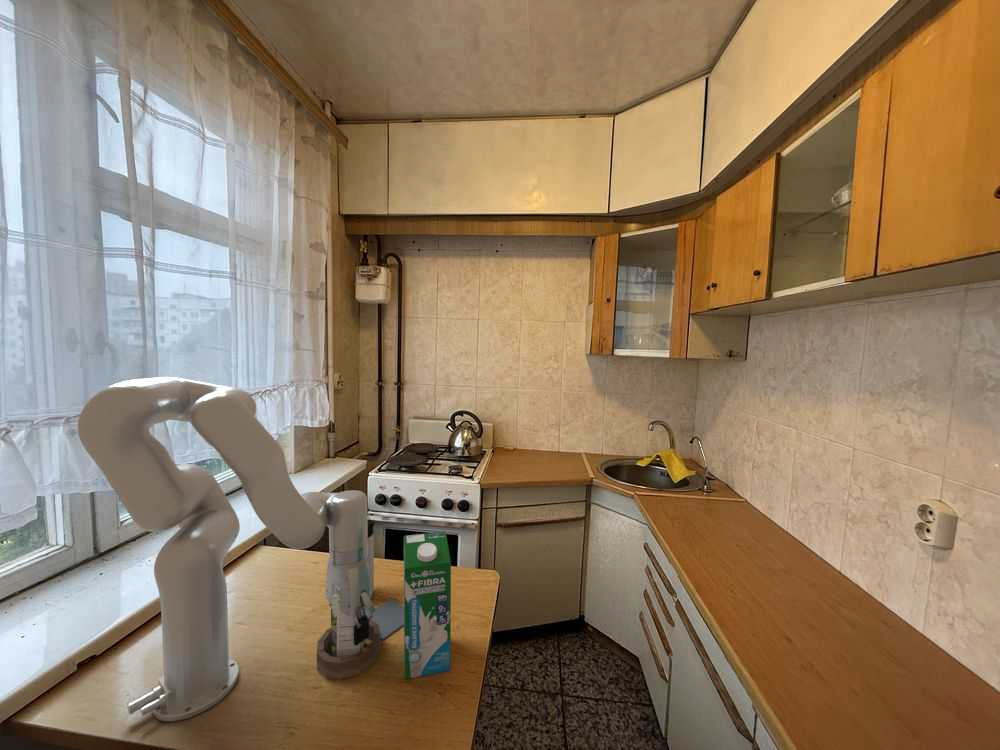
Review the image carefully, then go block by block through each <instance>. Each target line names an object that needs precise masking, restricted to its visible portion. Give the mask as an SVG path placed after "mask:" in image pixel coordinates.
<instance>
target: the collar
mask: <svg viewBox="0 0 1000 750" xmlns="http://www.w3.org/2000/svg"><path fill="white" fill-rule="evenodd" d="M367 639H369V641H371V642H370V643H369V645H367V646H364V648H363V649H362V650H361V651H360V652H359V653H358V654H354V655H351V656H347V657H344V658H341V657H332V655H330V654H329V653H328V652H329V650H330V649H332V626H331V627H329V628H327V629H326V630H325V631H324V633H323V634H322V635H321V636H320V638H319V639H318V640H317V642H316V643H317V644H316V670H317V671H318V672H319V673H320V674H321V675H322V676H323V677H324V678H325V679H330V680H339V681H340V680H341V681H342V680H346V679H349V678H353V677H356V676H359V675H361V674H362V673H364V672H365V671H366V670H367V669H369V668H370V667H371V666H372V665H374V664H375V662H376V660H377V659H378V657H379V654H380V653H381V651H382V640H381V634H380V628H379V625H378V624H377V623H376V622H374V621H373V620H371V619H370V620H369V637H368V638H367Z"/></svg>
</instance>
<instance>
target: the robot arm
mask: <svg viewBox="0 0 1000 750" xmlns="http://www.w3.org/2000/svg"><path fill="white" fill-rule="evenodd" d="M256 413H257V404H256V401H255V399H254V398H253V397H252V395H251V394H250V393H248V392H246V391H245V390H242V389H239V388H236V387H231V386H224V385H219V384H213V383H208V382H202V381H197V380H192V379H186V378H179V377H174V376H156V377H148V378H135V379H129V380H122V381H120V382H116V383H114V384H111V385H109V386H107V387H105V388H103V389H101V390H100V391H99V392H97V393H96V394H94V395H93V396H92V397H91V398H90V399H89V400H88V401H87V402H86V404H85V405H84V406H83V408H82V410H81V412H80V414H79V416H78V420H77V434H78V438H79V441H80V443H81V445H82V446H83V448H84V450H85V451H86V453H87V454H88V455H89V457H90V458H91V459H92V461H93V462H94V463H95V464H96V465H97V467H98V468H99V469H100V471H101V472H102V473H103V475H104V477H105V478H106V480H107V482H108V483H109V486H110V487H111V488H112V490H113V492H114V493H115V494H116V496H117V498H118V499H119V501H120V502H121V504H122V506H124V509H126V512H127V514H129V516H130V518H131V520H133V522H134V523H135V524H136V525H137V526H138V527H139V528H140V529H142V530H143V531H147V532H150V533H151V532H152V533H159V532H164V531H168V530H170V529H172V528H174V527H175V526H178V527H179V529H178V530H177V531H176V532H175V533H174V534H173V535H172V536H171V537H170V538H169V539H168V540H167V541H166V542H165V543H164V544H163V546H162V547H161V549H160V550H159V552H158V553H157V556H156V558H155V560H154V566H153V573H154V574H153V575H154V580H155V583H156V588H157V590H158V594H159V600H160V602H159V603H160V614H161V616H160V617H161V633H162V635H161V637H162V663H163V668H162V669H163V675H161V676H160V677H158V684H157V685H154V686H153V687H152V688H151V691H149V692H146V693H145V694H143V695H139V696H138V697H136V698H134V699H133V700H130V701H128V702H127V712H128V716H130V715H133V714H134V713H136V712H138V711H140V713H141V717H145V716H146V715H147V714H149V713H151V712H153V714H154V716H155V718H157V719H158V720H160V721H163V722H177V721H183V720H185V719H189V718H193V717H194V716H197V715H199V714H201V713H203V712H206V710H209V709H210V708H212V707H213V706H215V705H216V704H218V703H219V702H220V701H222V699H224V698H225V697H226V696H227V695H228V694H229V693H230V691H232V690H233V688H234V686H235V685H236V684H237V681H238V679H239V675H240V667H239V664H238V662H236V661H235V660H233V659H232V658H230V656H229V655H230V654H229V652H230V651H229V650H230V649H229V648H230V647H229V617H228V616H229V615H228V612H229V609H228V608H229V607H228V588H227V587H228V586H227V582H226V577H225V573H224V568H223V562H224V558H225V557H226V555H227V554H228V552H229V550H230V549H231V547H232V546H233V545H234V543H235V542H236V541H237V540H236V539H238V536H239V533H240V528H241V525H240V524H241V523H240V519H239V518H238V515H237V513H236V511H235V509H234V507H233V505H232V504H231V503H230V501H229V499H228V497H227V496H226V494H225V492H224V491H223V489H222V487H221V486H220V484H219V483H218V481H217V479H216V478H215V476H214V475H213V474H212V473H211V472H210V471H209V470H208V469H206V468H204V467H202V466H200V465H198V464H193V463H181V464H176V463H175V462H174V461H173V458H172V457H171V455H170V453H169V452H168V450H167V448H166V447H165V446H164V445H163V444H162V443H161V442H160V441H159V440H158V439H157V438H156V437H155V436H153V435H152V434H151V432H150V428H151V427H152V426H154V425H156V424H157V425H158V424H160V423H163V422H166V421H169V420H170V421H177V422H178V421H179V422H186V423H190V424H191V426H192V428H193V429H194V430H195V431H196V432H197V433H198V434H199V436H200V437H202V439H203V440H204V441H205V442H206V443H207V444H208V445H209V446H210V448H212V449H213V450H214V452H215V453H216V454H217V455H218V456H219V457H220V458H221V459H222V460H223V461H224V463H225V464H226V465H227V466H228V467H229V469H231V471H232V472H233V473H234V474H235V475H236V476H237V477H238V479H239V480H240V483H241V485H242V487H241V488H242V489H243V492H244V493H245V495H246V497H247V499H248V501H249V503H250V505H251V507H252V509H253V511H254V513H255V514H256V515H257V517H258V518H259V520H260V522H262V524H263V525H264V526H265V527H266V528H267V530H269V531H270V532H271V534H272V535H273V536H275V538H277V540H278V541H279V542H281V543H282V544H284V545H285V547H286V546H287V547H288V548H291V549H294V550H304V549H308V548H310V547H312V546H313V545H315V544H316V543H318V542H319V541H320V540H321V538H322V537H323V535H324V532H325V531H326V527H327V528H328V540H329V541H328V546H329V547H328V548H329V552H328V553H329V557H328V560H327V567H326V574H325V575H326V578H325V598H326V601H327V602H328V603H329V607H330V626H331V627H332V599H333V597H334V595H335V594H336V595H338V596H339V597H340V598H339V599H340V611H341V612H342V613H344V614H345V615H347V616H353V617H354V621H355V624H356V625H355V626H354V644H355V645H358V644H359V643H361V642H362V641H364V640H365V641H366V639H368V637H369V620H370V619H371V618H372V617H373V615H374V613H375V612H376V610H375V608H376V607H375V605H374V604H373V602H372V600H371V599H372V597H371V585H370V573H369V565H368V560H367V557H368V518H369V517H368V497H367V494H366V493H365V492H363V491H361V490H357V489H356V490H354V489H353V490H344V491H340V492H327V491H326V492H324V491H309V492H304V493H302V494H300V492H299V491H298V490H297V488H296V486H295V485H294V484H293V481H292V480H291V476H290V475H289V472H288V469H287V463H286V456H285V452H284V450H283V448H282V446H281V445H280V443H278V442H277V440H276V439H275V438H274V437H273V436H272V435H271V433H270V432H269V431H268V430H267V429H266V427H264V425H263V424H262V422H260V421H259V420H258V419H257V417H256V416H255V415H256ZM360 602H361V603H362V606H361V607H360V608H359V605H360ZM361 610H363V613H364V616H362V617H361V618H359V615H358V612H359V611H361Z"/></svg>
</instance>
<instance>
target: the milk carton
mask: <svg viewBox="0 0 1000 750" xmlns="http://www.w3.org/2000/svg"><path fill="white" fill-rule="evenodd" d="M451 568H452V560H451V556H450V549H449V543H448V538H447V533H446V531H445V530H444V531H435V532H429V533H421V534H417V533H416V534H411V535H410V534H409V535H403V606H404V626H403V656H404V657H403V661H404V662H403V663H404V680H409V679H410V680H411V679H414V678H418V677H422V676H423V677H424V676H427V675H432V674H437V673H441V672H446V671H450V670H451V641H452V638H451V633H452V632H451V631H452V629H451V625H452V623H451V616H452V615H451V612H452V611H451V610H452V609H451V608H452V606H451V605H452V604H451V603H452V602H451V600H452V591H451V590H452V569H451Z"/></svg>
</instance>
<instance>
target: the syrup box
mask: <svg viewBox="0 0 1000 750" xmlns="http://www.w3.org/2000/svg"><path fill="white" fill-rule="evenodd" d="M339 598H340V597H339V596H338V595H336V594H335V595H334V597H333V599H332V608H331V609H332V626H331V627H332V647H331V657H341V658H344V657H347V656H351V655H354V654H358V653H359V652H360V651H361V650H362V649H363V648H365V644H366V639H365V640H364V641H362V642H361V643H359V644H358V645H355V644H354V626H355V625H356V624H355V621H354V617H353V616H347V615H345V614H344V613H342V612H341V611H340V599H339ZM361 606H362V603H361V602H360V605H359V608H360V607H361ZM358 615H359V618H361V617H362V616H364V613H363V610H361V611H359V612H358Z"/></svg>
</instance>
